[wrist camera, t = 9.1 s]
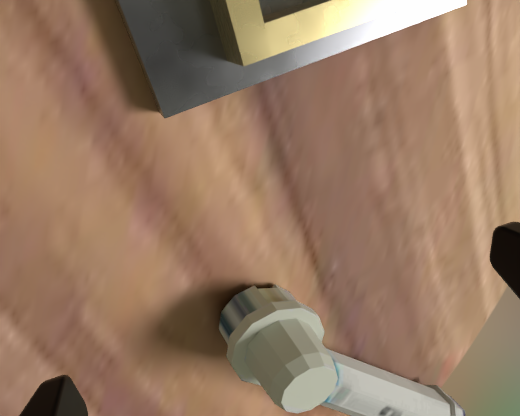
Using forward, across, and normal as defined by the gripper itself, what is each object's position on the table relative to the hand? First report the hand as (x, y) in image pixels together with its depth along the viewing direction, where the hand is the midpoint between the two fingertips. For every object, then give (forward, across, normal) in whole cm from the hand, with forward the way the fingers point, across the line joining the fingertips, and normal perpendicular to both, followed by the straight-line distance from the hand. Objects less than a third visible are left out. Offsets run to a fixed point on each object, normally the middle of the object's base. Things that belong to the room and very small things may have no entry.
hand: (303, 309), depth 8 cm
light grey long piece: (+14, -7, +20) cm, 25 cm away
